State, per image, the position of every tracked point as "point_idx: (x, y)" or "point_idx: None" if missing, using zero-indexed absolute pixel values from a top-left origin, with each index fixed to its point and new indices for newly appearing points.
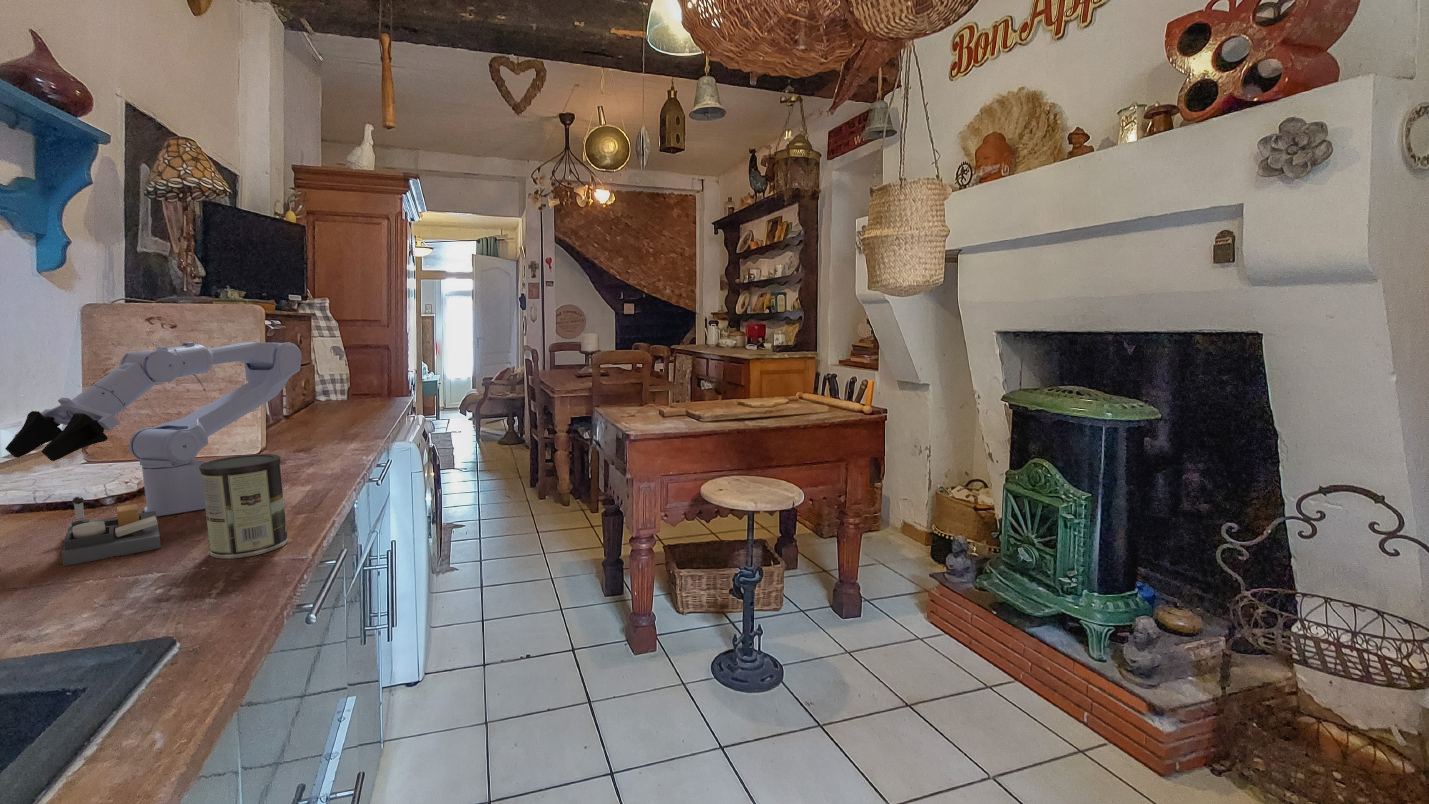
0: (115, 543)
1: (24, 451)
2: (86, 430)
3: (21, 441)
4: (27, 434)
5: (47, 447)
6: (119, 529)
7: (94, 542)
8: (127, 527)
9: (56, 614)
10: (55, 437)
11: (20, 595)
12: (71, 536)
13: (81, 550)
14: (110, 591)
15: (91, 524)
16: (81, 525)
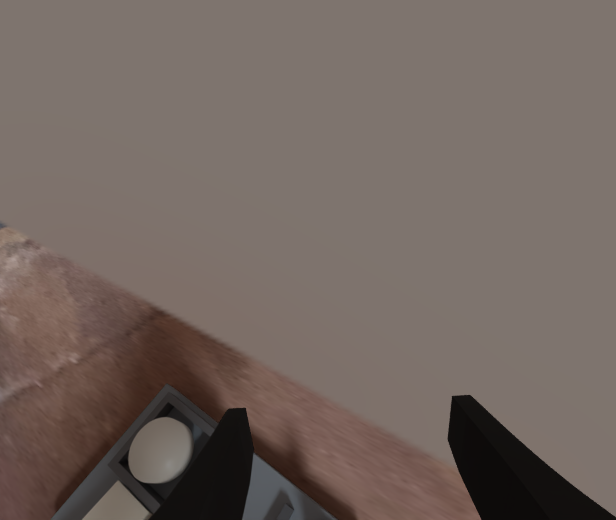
0: (105, 457)
1: (465, 469)
2: None
3: (484, 458)
4: (519, 501)
5: (224, 423)
6: (123, 501)
7: None
8: (104, 513)
9: (35, 282)
10: (215, 472)
11: (131, 301)
12: None
13: (146, 407)
14: (13, 341)
15: (154, 454)
16: (171, 440)
